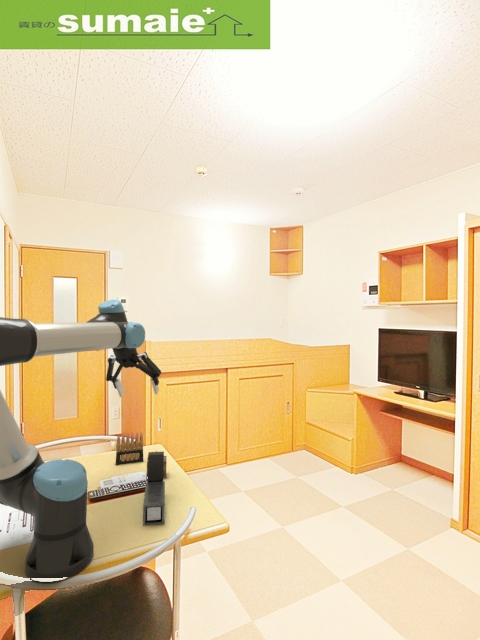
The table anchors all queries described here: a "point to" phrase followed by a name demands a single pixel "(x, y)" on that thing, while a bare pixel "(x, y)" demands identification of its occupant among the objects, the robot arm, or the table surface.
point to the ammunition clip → (129, 450)
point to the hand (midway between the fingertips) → (139, 393)
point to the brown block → (164, 467)
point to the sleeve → (154, 501)
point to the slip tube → (155, 480)
